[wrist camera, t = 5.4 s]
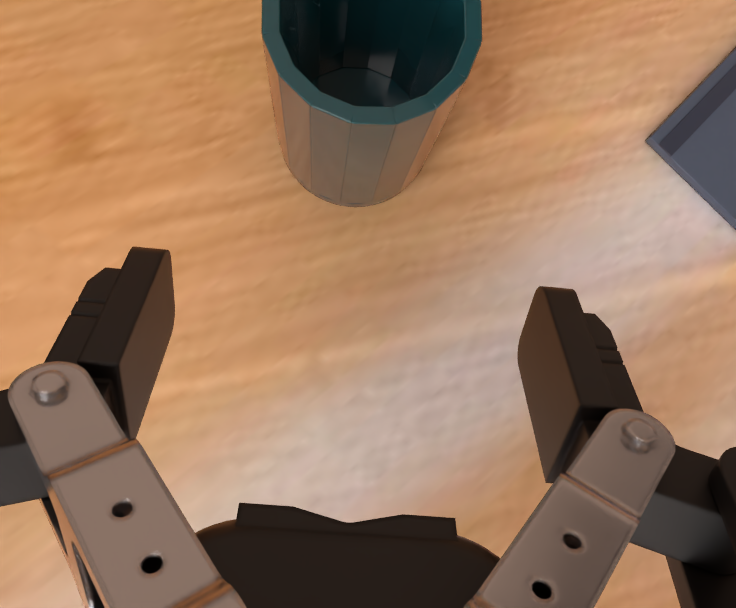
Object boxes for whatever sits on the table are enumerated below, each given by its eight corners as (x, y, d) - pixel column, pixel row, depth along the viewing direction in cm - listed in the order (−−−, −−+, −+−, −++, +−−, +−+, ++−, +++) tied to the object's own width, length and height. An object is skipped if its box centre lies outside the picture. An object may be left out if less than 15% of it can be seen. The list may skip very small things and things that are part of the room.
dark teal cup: (247, 132, 28) (214, 11, 19) (354, 33, 28) (372, -129, 19) (354, 238, 28) (374, 169, 18) (458, 136, 28) (526, 22, 19)
